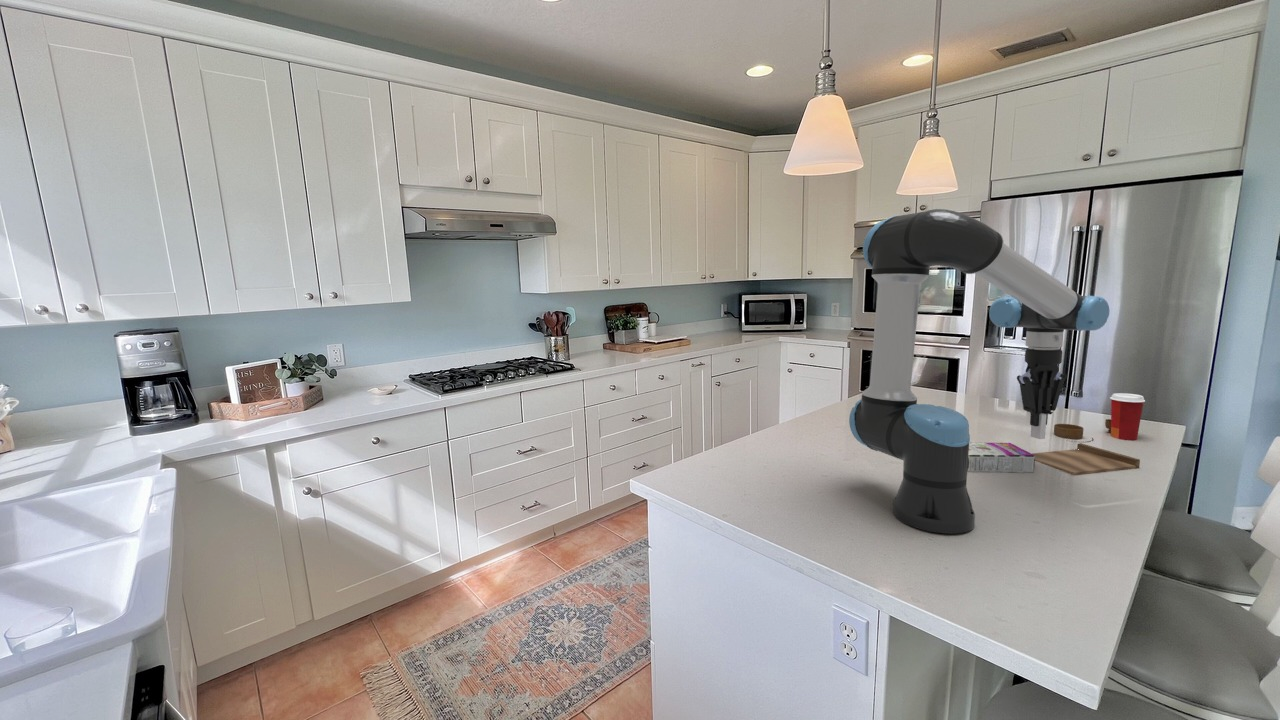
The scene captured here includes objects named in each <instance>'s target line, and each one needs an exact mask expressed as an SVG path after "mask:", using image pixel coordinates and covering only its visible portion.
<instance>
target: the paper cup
mask: <svg viewBox="0 0 1280 720" xmlns="http://www.w3.org/2000/svg"><path fill="white" fill-rule="evenodd" d="M1109 399H1110V400H1111V401H1110V403H1111V404H1110V413H1111V414H1110V419H1111V434H1110V437H1112V438H1113V439H1117V440H1123V441H1130V442H1131V441H1133V442H1134V441H1137V440H1138V436H1139V435H1138V434H1139V430H1140V424H1141V419H1142V415H1143V414H1142V413H1143V407H1144V403H1145V402H1146V400H1145V397H1144V396H1143V395H1141V394H1137V393H1136V394H1134V393H1125V392H1119V393H1118V392H1117V393H1112V395H1111V396H1110V397H1109Z"/></svg>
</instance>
